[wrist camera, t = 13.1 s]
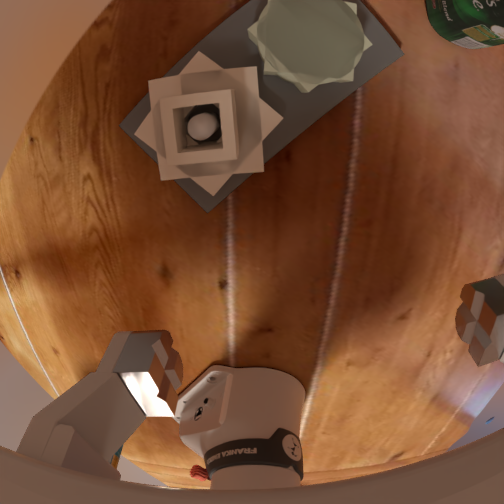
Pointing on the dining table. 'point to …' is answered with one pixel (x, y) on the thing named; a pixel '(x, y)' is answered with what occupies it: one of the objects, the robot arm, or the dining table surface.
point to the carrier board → (269, 88)
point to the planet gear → (231, 114)
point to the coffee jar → (468, 21)
